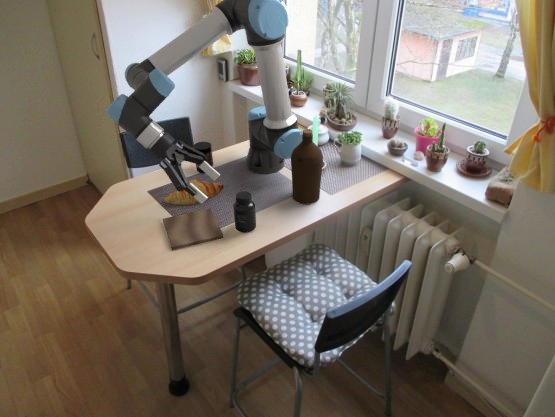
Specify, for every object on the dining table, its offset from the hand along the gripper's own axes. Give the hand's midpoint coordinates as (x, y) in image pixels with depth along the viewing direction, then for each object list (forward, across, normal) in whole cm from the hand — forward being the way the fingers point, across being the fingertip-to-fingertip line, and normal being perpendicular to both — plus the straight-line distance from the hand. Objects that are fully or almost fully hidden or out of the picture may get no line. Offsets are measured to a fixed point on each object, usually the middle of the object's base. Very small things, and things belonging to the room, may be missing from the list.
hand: (211, 188), depth 139 cm
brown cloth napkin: (+5, +3, -14) cm, 15 cm away
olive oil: (+29, -21, +9) cm, 37 cm away
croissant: (+2, -15, -18) cm, 24 cm away
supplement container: (0, -35, -20) cm, 40 cm away
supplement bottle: (+17, 0, -3) cm, 17 cm away
